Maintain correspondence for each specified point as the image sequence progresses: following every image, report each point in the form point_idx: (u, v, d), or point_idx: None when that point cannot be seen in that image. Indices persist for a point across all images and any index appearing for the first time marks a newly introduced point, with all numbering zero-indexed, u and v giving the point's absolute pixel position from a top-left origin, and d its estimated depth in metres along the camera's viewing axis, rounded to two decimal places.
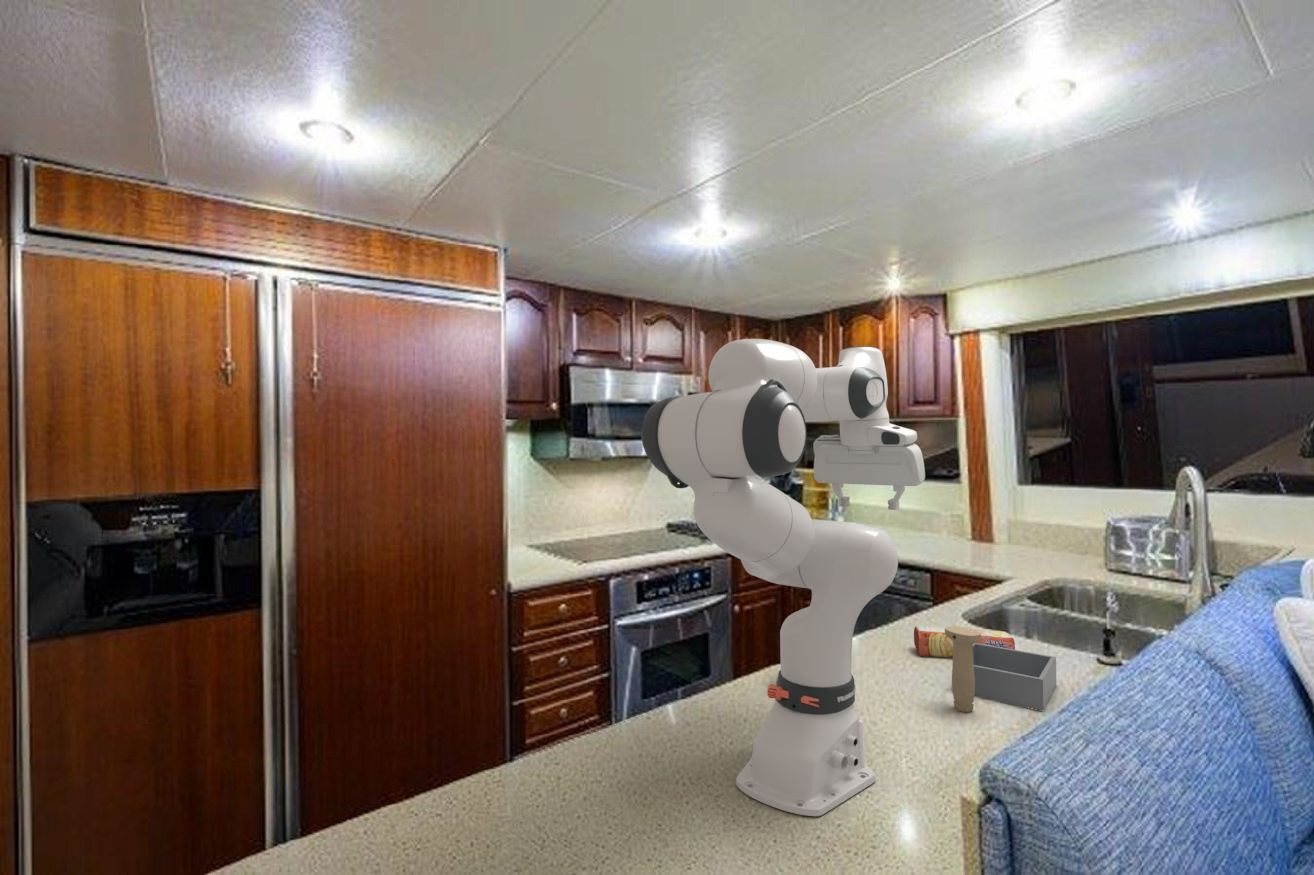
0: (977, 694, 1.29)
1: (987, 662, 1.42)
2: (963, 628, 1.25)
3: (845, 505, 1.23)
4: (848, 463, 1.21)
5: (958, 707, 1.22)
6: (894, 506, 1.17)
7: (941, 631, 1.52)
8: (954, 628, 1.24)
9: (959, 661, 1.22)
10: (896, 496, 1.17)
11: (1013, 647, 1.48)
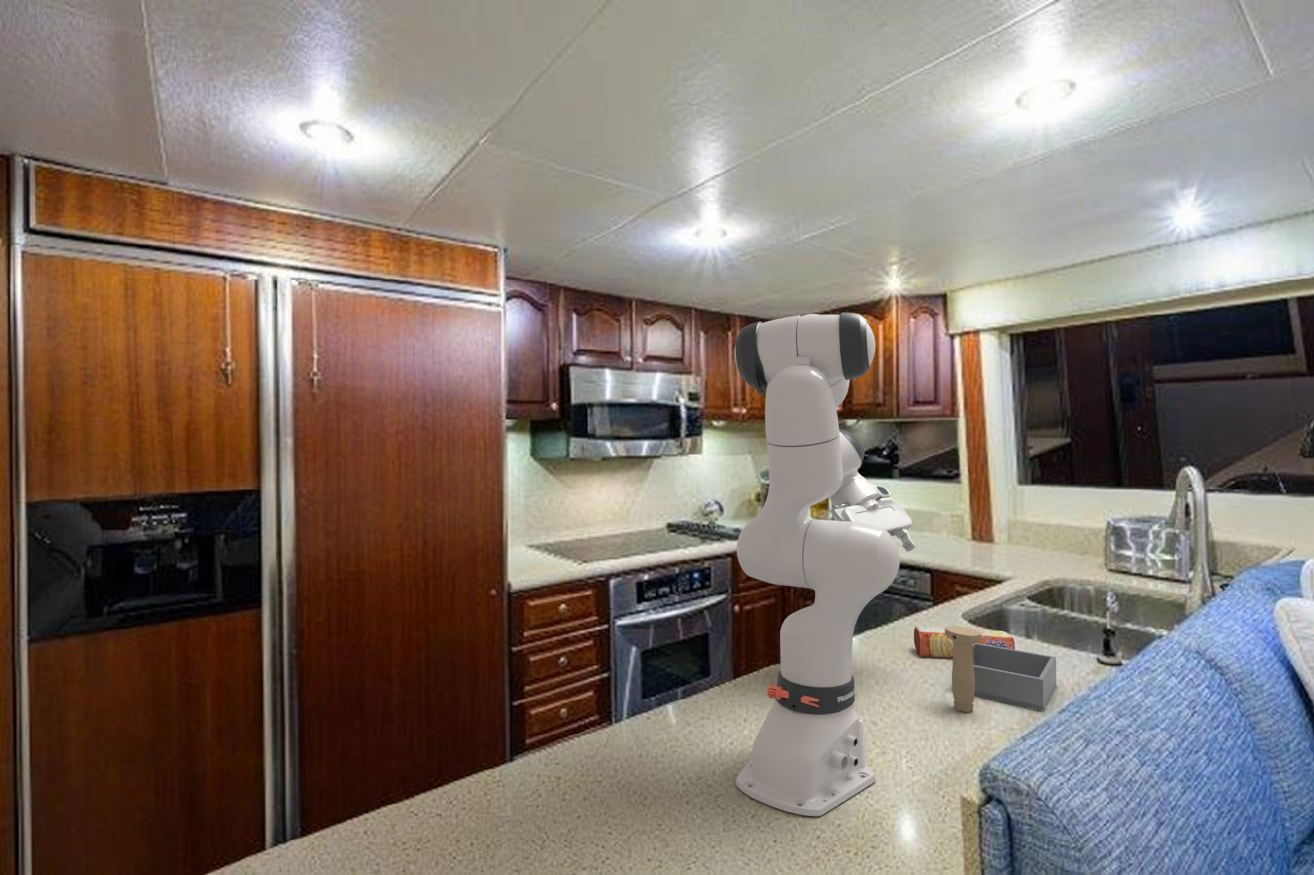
0: (977, 694, 1.29)
1: (987, 662, 1.42)
2: (963, 628, 1.25)
3: None
4: (870, 516, 1.34)
5: (958, 707, 1.22)
6: (913, 543, 1.35)
7: (942, 631, 1.52)
8: (954, 628, 1.24)
9: (959, 661, 1.22)
10: (909, 536, 1.37)
11: (1013, 646, 1.48)
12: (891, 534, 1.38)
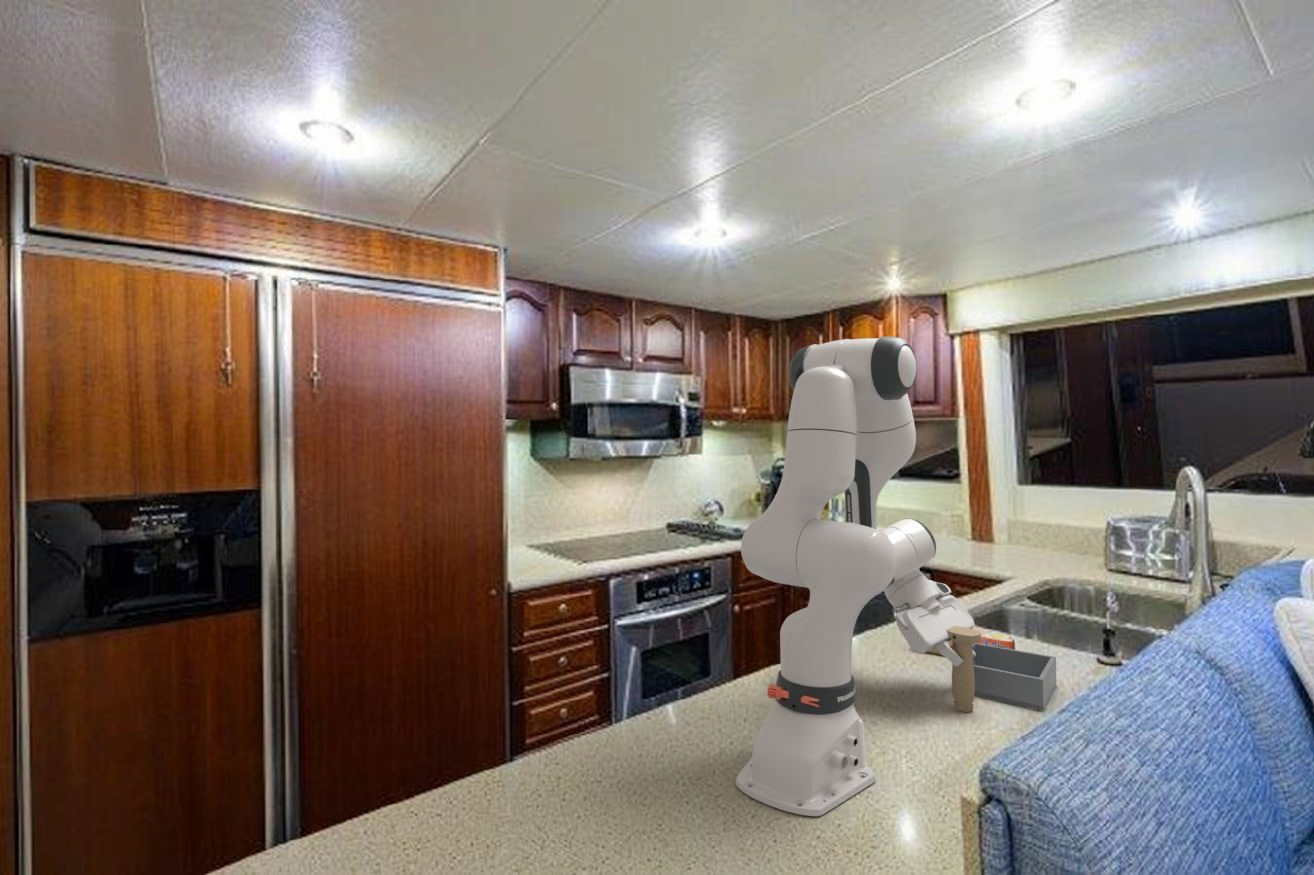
0: (977, 694, 1.29)
1: (987, 662, 1.42)
2: (963, 628, 1.25)
3: (963, 659, 1.21)
4: (933, 620, 1.25)
5: (958, 707, 1.22)
6: (973, 651, 1.24)
7: None
8: (954, 628, 1.24)
9: None
10: None
11: None
12: None
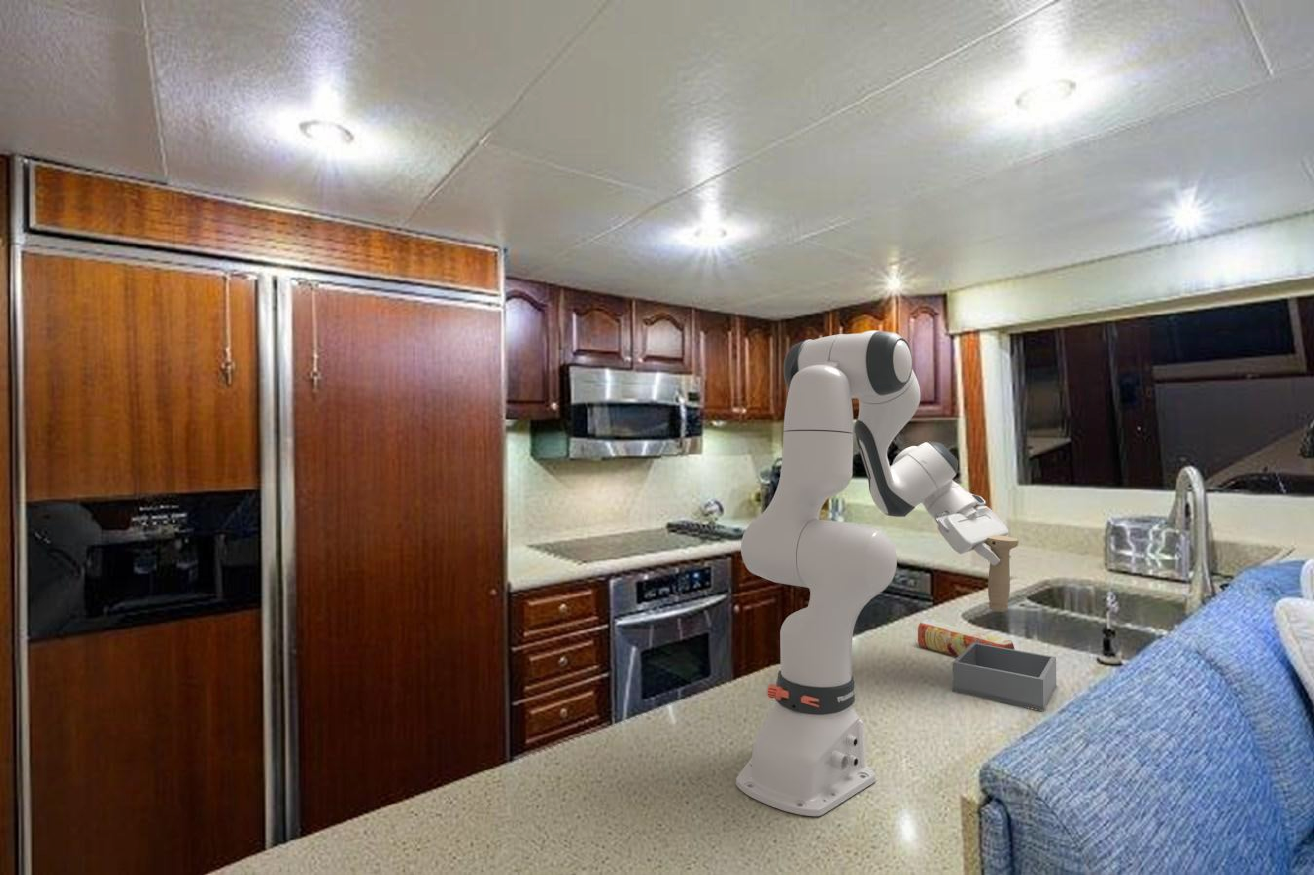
0: (977, 694, 1.29)
1: (987, 662, 1.42)
2: (1000, 536, 1.34)
3: (1000, 558, 1.30)
4: (972, 525, 1.34)
5: (994, 607, 1.32)
6: (1009, 553, 1.34)
7: (939, 626, 1.56)
8: (992, 536, 1.33)
9: (997, 565, 1.31)
10: None
11: None
12: None
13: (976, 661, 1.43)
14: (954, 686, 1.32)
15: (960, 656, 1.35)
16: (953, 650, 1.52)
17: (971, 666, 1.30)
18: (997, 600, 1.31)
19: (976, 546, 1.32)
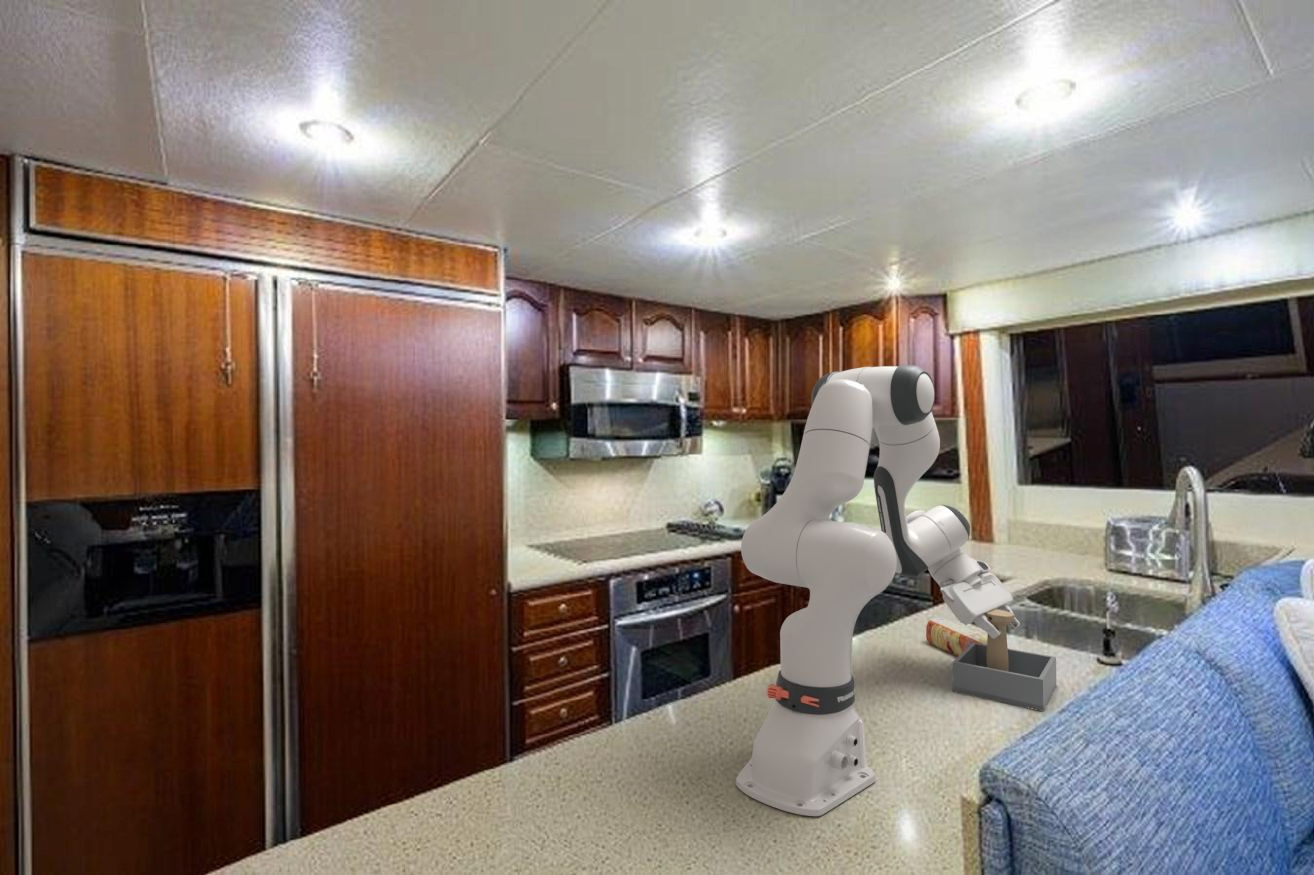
0: (977, 694, 1.29)
1: None
2: (996, 610, 1.33)
3: (1000, 632, 1.30)
4: (976, 594, 1.34)
5: None
6: (1018, 621, 1.36)
7: (944, 625, 1.57)
8: None
9: (994, 640, 1.31)
10: None
11: None
12: None
13: (976, 661, 1.43)
14: (954, 686, 1.32)
15: (960, 656, 1.35)
16: (951, 648, 1.53)
17: (971, 666, 1.30)
18: None
19: (976, 618, 1.31)
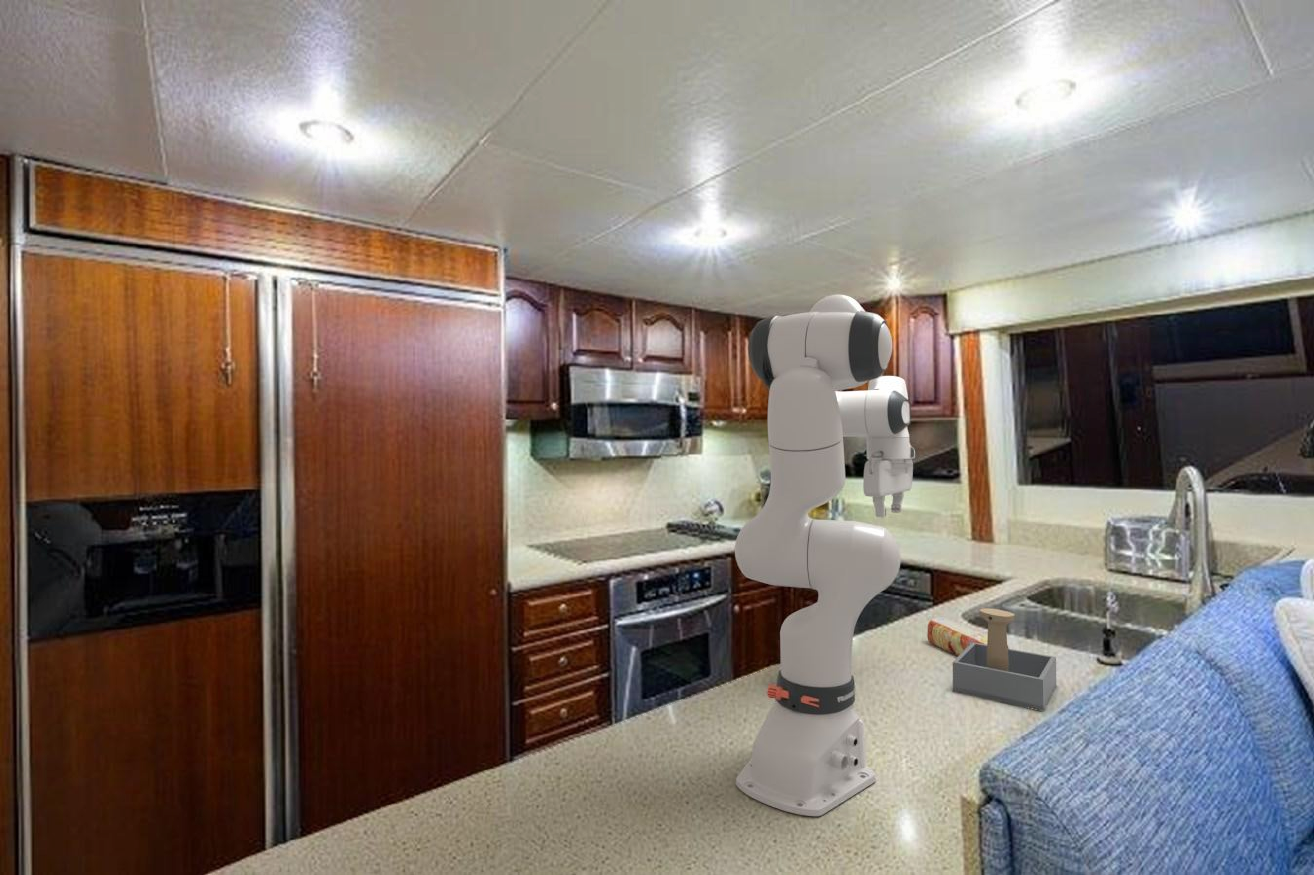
0: (977, 694, 1.29)
1: None
2: (996, 610, 1.33)
3: (885, 515, 1.37)
4: (891, 476, 1.38)
5: None
6: (900, 509, 1.44)
7: (945, 625, 1.57)
8: (988, 610, 1.33)
9: (994, 640, 1.31)
10: (902, 500, 1.45)
11: None
12: None
13: (976, 661, 1.43)
14: (954, 686, 1.32)
15: (960, 656, 1.35)
16: (952, 648, 1.53)
17: (971, 666, 1.30)
18: None
19: None
